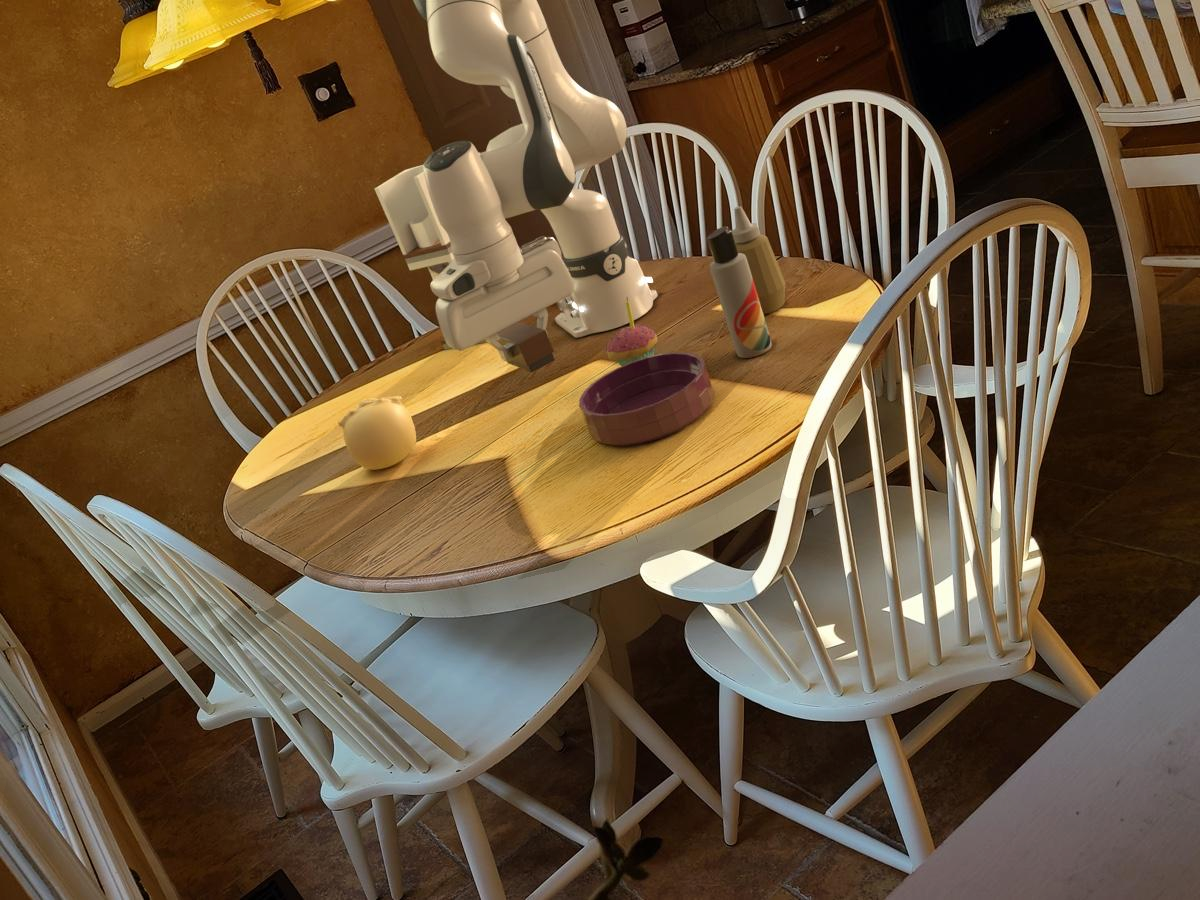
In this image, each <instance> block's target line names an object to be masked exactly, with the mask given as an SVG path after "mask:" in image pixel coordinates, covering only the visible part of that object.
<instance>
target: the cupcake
mask: <svg viewBox="0 0 1200 900" xmlns="http://www.w3.org/2000/svg"><path fill="white" fill-rule="evenodd" d="M626 307H627V312H628V317H629V322H630V323H629V326H625V327H623V328H621V329H620V330H618V331H617V332H616V333H615V334H614V335H613V336H611V337H610V339H609V341H608V342H607V343H606V344H607V345H606V349H605V350H606V351H607V352H606V354H607V358H608V359H609V360H611V361H615V362H617V363H618V365H620V367H621V366H623V365H626V364H628V363H630V362H633V361H636V360H639V359H642V358H645V357H649V356H653V355H655V346H656V344H657V343H658V335H657V333H656V331H655V330H654V329H653V328H650V327H649V325H647V326H646V325H643V324H642V325H641V324H639V325H637V324H636V325H635V323H634V322H635V320H634V321H633V316H632V311H631V306H630V302H629V301H628V297H627V302H626Z"/></svg>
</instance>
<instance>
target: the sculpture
mask: <svg viewBox="0 0 1200 900" xmlns="http://www.w3.org/2000/svg"><path fill="white" fill-rule="evenodd" d="M337 425H339V426H340V427H341V428H342V432H343V434H342V435H343V440H344V443H345V446H346V449H347V451H348V453H349V455H350V456H351V458H352V459H353V460H354V461H355V462H356V464H357V465H359V466H360V467H362V468H363V469H367V470H372V471H373V470H374V471H375V470H382V469H386V468H389V467H392V466H394V465H396V464H398V463H400V462H401V461H403V460H405V458H406V457H408V456H409V455H410V454H411V453H412V452H413V450H414V448H415V446H416V443H417V431H416V427H415V424H414V421H413V418H412V416H411V414H410V412H409V410H408V409H407V408H406V407H405V406H404V405H403V397H402V396H401V395H393V396H384V397H381V398H378V397H377V398H376V397H368V398H364V399H363V400H361V401H360V402H359V403H358V405H356V406H355V407H354V408H353V409H351V410H349V411H348V412H347V413H346V414H345V415H344V416H342V417H341V418H340V419H339V420H338V421H337Z"/></svg>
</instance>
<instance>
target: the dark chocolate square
mask: <svg viewBox="0 0 1200 900" xmlns="http://www.w3.org/2000/svg"><path fill="white" fill-rule="evenodd" d="M546 331H547V329H546V330H543V329H540V328H537V326H534V325H530V324H528V323H525V322H523V321H519V322H517V323H515V324H513V325H512V326H510V327H508V328H506V329H504V330H502V331H500V332H498V335H499V338H500V340H498V341H497V340H496V341H497V342H498V343H500V344H501V345H502V346H504V345H508V346H510V347H511V349H512V351H513V354H514V357H513V358H512V359H510V360H508V361H506V362H507V364H509V365H512V366H514V367H516V368H519V369H522V370H524V371H526V372H528V373H533V372H536V371H538V370H539V369H541V368H543V367H545V366H547V365H549V364H551V363H553V362H554V361H555V357H554V354H553V353H555V351H554V349H553V346H552V343H551V340H550V337H549V338H548V336H549V334H548V335H547V333H548V332H547V333H546Z"/></svg>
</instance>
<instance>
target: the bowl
mask: <svg viewBox="0 0 1200 900" xmlns="http://www.w3.org/2000/svg"><path fill="white" fill-rule="evenodd" d="M713 386H714V385H713V383H712V380H711V378H710V374H709V371H708V368H707V366H706V362H705V359H704V358H702V357H701V356H700V355H699V354H695V353H692V352H687V351H686V352H685V351H672V352H664V353H659V354H654V355H653V356H649V357H645V358H642V359H639V360H636V361H633V362H630V363H628V364H626V365H623V366H621V365H620V366H618V367H616V368H614V369H612V370H611V371H609V372H607V373H605V374H604V375H602V376H600V377H599V378H598V379H596V380H594V382H592V383H591V384H590V385H589V386H588V387H586V389H585V390H584V391H583V393H581V395H580V398H579V399H578V407H579V410H580V412H581V415H582V418H583V421H584V423H585V425H586V428H587V430H588V431H587V432H588V433H589V435H590V436H591V438H592V439H593V440H595V441H597V442H599V443H601V444H606V445H610V446H616V447H617V446H618V447H626V446H627V447H628V446H635V445H636V446H637V445H641V444H646V443H650V442H654V441H657V440H660V439H664V438H666V437H668V436H670V435H672V434H674V433H677V432H679V431H680V430H682V429H684V428H686V427H688V426H690V424H692V423H693V422H694V421H696V420H697V419H698V418H700V417H701V416H702V415H703V414H704V412H705V411H706V410H707V409H708V407H709V406H710V404H712V402H713V399H714V397H715V390H714V387H713Z"/></svg>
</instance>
